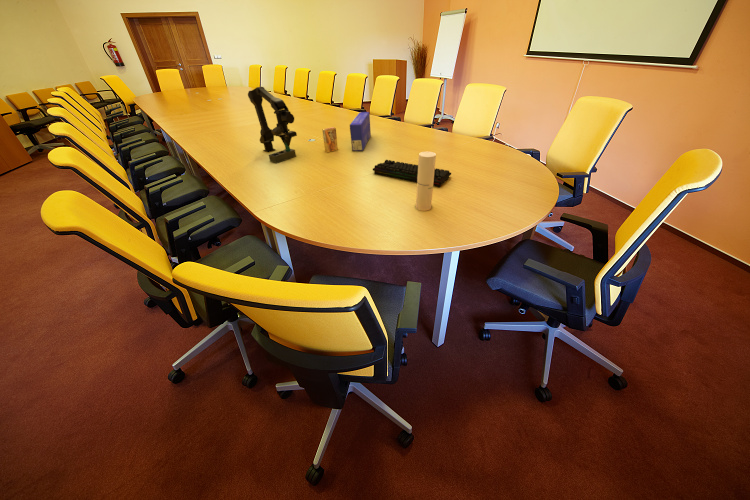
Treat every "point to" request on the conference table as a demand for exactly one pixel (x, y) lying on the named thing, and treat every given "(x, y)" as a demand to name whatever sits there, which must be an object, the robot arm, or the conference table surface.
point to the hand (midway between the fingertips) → (287, 145)
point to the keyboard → (408, 172)
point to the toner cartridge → (360, 131)
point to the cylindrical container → (425, 180)
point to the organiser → (282, 156)
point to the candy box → (330, 139)
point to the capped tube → (286, 146)
